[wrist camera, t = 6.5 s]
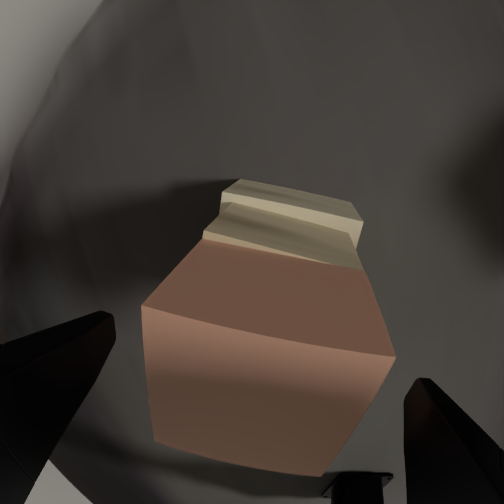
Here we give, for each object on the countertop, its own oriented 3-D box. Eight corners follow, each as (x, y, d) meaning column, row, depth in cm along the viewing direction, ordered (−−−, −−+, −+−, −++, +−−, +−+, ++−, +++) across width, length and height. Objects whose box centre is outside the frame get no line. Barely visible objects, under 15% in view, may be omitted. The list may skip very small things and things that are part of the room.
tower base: (323, 298, 18) (326, 338, 15) (226, 277, 19) (207, 311, 15) (350, 201, 16) (363, 221, 12) (241, 178, 17) (222, 191, 13)
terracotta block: (322, 387, 11) (320, 476, 7) (193, 361, 11) (154, 441, 8) (365, 271, 9) (396, 357, 5) (202, 238, 9) (141, 304, 6)
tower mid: (313, 328, 15) (313, 387, 11) (213, 301, 15) (185, 353, 11) (348, 233, 13) (364, 273, 9) (232, 201, 13) (204, 230, 9)
